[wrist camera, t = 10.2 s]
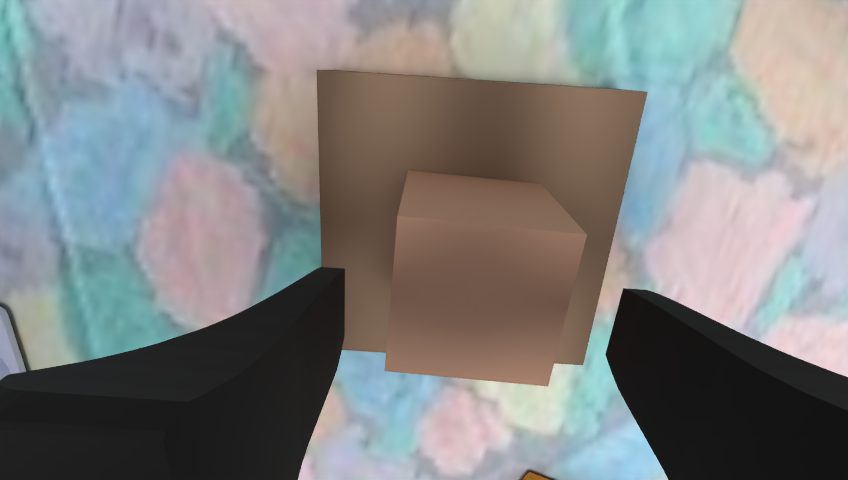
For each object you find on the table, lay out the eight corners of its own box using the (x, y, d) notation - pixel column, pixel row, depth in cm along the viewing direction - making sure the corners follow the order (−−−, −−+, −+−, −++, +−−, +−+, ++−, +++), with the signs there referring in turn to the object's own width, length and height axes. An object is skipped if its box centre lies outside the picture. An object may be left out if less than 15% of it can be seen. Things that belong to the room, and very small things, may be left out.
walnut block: (338, 311, 21) (324, 348, 18) (335, 70, 17) (316, 69, 14) (563, 326, 21) (582, 365, 18) (612, 88, 17) (647, 91, 14)
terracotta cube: (397, 288, 17) (384, 371, 13) (408, 170, 15) (397, 215, 11) (517, 300, 17) (547, 386, 13) (541, 183, 16) (587, 234, 11)
